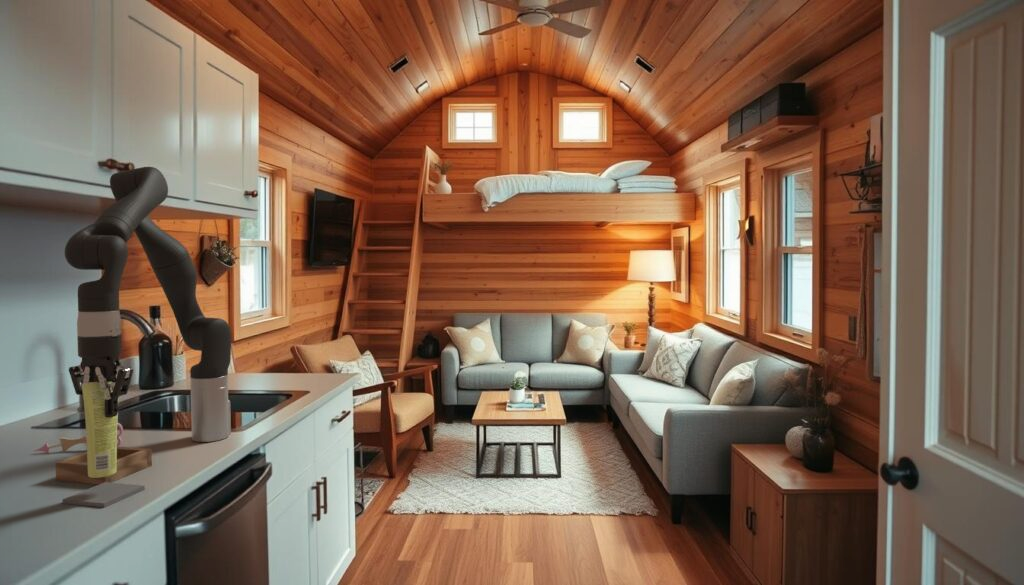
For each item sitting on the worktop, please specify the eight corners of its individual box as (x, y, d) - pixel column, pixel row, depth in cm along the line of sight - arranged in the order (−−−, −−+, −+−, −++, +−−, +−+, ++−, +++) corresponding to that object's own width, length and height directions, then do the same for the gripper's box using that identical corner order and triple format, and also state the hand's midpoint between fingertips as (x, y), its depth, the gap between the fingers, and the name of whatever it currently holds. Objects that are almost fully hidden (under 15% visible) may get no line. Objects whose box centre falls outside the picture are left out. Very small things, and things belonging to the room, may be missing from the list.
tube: (94, 470, 129) (93, 378, 128) (121, 468, 130) (120, 377, 129) (83, 479, 123) (81, 383, 123) (111, 477, 125) (110, 382, 124)
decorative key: (38, 463, 156) (126, 444, 162) (36, 465, 155) (125, 445, 161) (32, 438, 156) (121, 419, 161) (30, 439, 155) (119, 420, 160)
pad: (105, 485, 133) (105, 482, 133) (144, 489, 131) (144, 485, 131) (62, 503, 123) (62, 499, 123) (104, 507, 121) (104, 503, 121)
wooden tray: (106, 461, 149) (105, 445, 149) (151, 465, 146) (151, 449, 146) (55, 480, 136) (55, 462, 136) (105, 484, 133) (104, 466, 133)
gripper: (53, 334, 123) (56, 418, 124) (113, 336, 120) (115, 422, 121) (87, 330, 131) (89, 410, 131) (143, 331, 128) (146, 413, 128)
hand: (102, 415), depth 126 cm, fingers closed on tube, 4 cm apart
